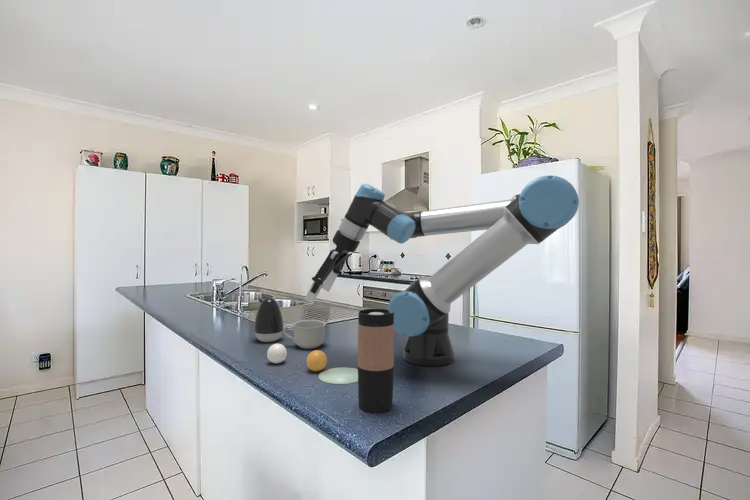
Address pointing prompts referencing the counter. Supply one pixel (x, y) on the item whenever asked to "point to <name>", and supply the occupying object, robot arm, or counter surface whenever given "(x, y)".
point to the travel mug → (375, 360)
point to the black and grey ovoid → (268, 321)
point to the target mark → (339, 375)
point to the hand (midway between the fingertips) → (317, 295)
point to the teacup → (307, 333)
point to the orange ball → (316, 360)
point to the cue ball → (276, 353)
